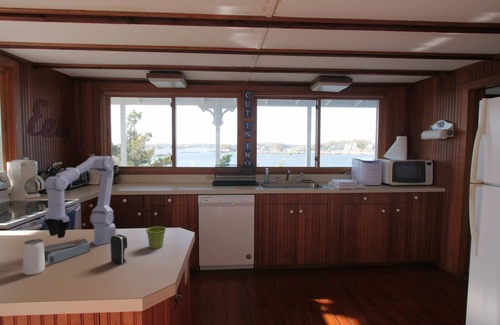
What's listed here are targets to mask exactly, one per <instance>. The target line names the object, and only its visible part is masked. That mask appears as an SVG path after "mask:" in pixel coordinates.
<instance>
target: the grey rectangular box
mask: <svg viewBox="0 0 500 325" xmlns="http://www.w3.org/2000/svg"><path fill="white" fill-rule="evenodd" d="M86 243H89V241H88V240H87V239H86V238H80V239H75V240H71V241H63V242H58V243H54V244H48V245H44V254H45V261H48V255H50V254H53V253H57V252H60V251H63V250H66V249H70V248H73V247H76V246H80V245H83V244H86Z"/></svg>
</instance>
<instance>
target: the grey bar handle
mask: <svg viewBox="0 0 500 325" xmlns="http://www.w3.org/2000/svg"><path fill="white" fill-rule="evenodd" d="M90 247H91V246H90V242H88V243H86V244H83V245H80V246H76V247H73V248H70V249H66V250H63V251H60V252H57V253H53V254H50V255H48V260H47V265H53V264H56V263H59V262H61V261H65V260H67V259H71V258H73V257H77V256H79V255H82V254H85V253H88V252H90V250H91V248H90Z"/></svg>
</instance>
